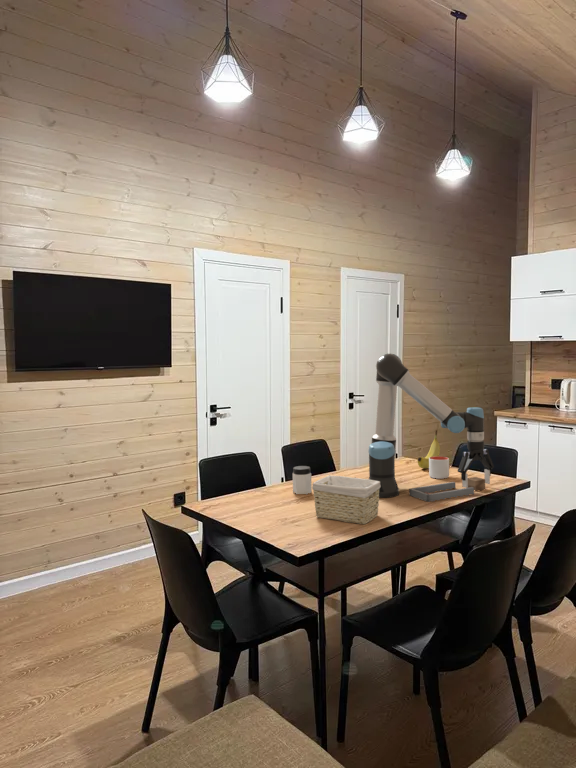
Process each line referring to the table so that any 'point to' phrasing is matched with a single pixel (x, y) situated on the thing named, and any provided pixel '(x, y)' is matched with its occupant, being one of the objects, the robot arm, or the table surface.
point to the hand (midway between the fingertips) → (476, 485)
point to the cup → (439, 467)
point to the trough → (425, 492)
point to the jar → (302, 480)
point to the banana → (430, 453)
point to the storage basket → (346, 499)
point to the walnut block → (476, 483)
